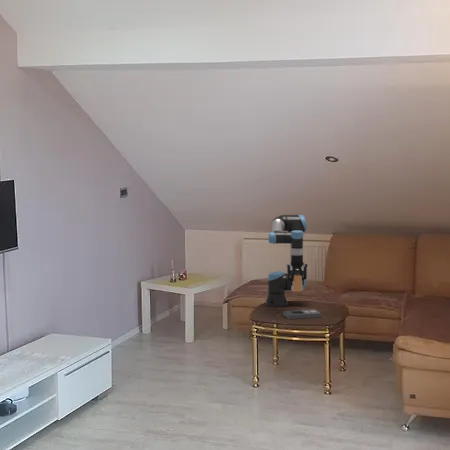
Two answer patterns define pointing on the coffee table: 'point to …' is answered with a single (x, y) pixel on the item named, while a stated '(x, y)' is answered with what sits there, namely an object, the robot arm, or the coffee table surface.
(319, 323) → the coffee table surface
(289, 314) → the power strip
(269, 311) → the coffee table surface
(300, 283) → the charger
